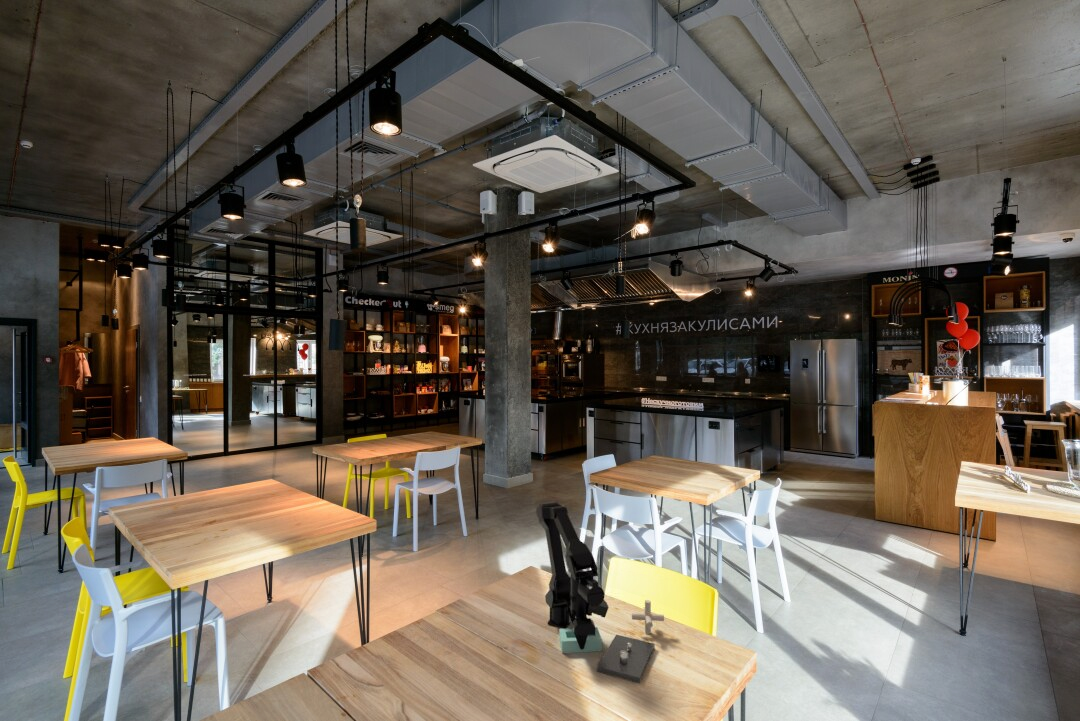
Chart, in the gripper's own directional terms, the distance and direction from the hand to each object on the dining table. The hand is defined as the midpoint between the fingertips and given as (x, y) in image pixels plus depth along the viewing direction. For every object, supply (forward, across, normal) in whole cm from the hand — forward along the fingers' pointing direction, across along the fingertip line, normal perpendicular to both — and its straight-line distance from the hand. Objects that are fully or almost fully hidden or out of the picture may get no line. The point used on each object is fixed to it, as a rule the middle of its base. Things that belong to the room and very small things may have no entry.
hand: (580, 642), depth 155 cm
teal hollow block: (+1, 0, 0) cm, 1 cm away
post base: (+1, -8, -12) cm, 15 cm away
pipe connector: (+1, +5, -23) cm, 23 cm away
